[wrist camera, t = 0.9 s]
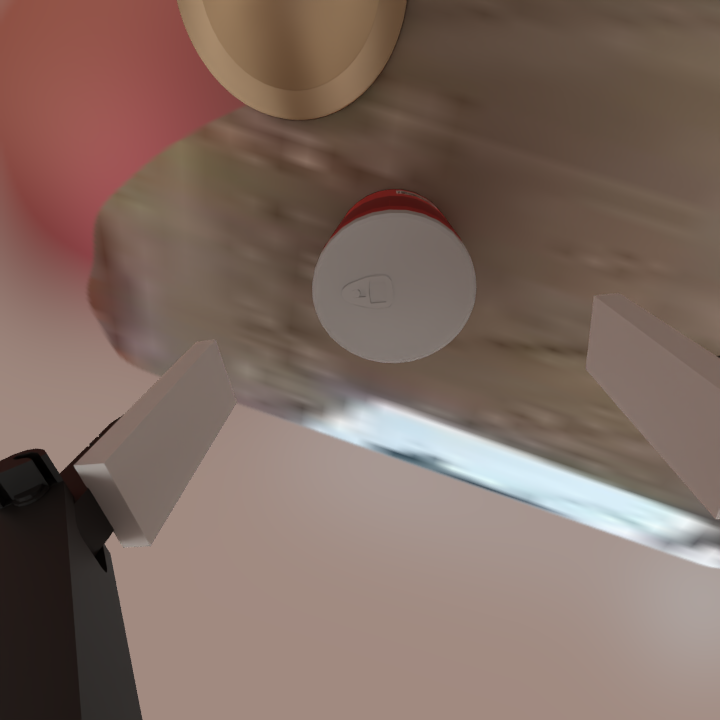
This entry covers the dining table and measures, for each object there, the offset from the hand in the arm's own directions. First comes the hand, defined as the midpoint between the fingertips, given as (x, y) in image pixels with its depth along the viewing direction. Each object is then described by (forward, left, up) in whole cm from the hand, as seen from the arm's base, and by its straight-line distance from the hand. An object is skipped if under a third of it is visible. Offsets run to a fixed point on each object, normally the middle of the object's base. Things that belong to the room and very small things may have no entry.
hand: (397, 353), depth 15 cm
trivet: (+4, -15, -17) cm, 23 cm away
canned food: (0, 0, -17) cm, 17 cm away
